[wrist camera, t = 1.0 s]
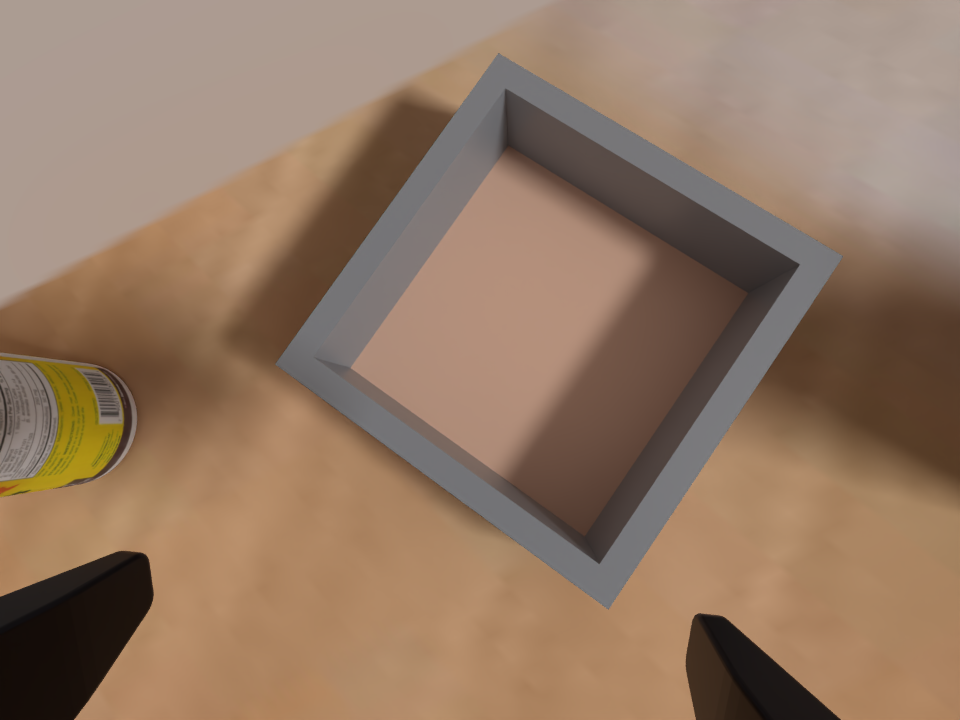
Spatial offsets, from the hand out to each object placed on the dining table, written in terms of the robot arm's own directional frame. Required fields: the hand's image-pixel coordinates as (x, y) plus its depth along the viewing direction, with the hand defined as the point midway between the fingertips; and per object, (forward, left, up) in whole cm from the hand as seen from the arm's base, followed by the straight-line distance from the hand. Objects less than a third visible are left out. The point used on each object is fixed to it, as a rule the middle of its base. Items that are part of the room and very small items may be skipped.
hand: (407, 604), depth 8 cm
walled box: (+7, +1, -14) cm, 16 cm away
